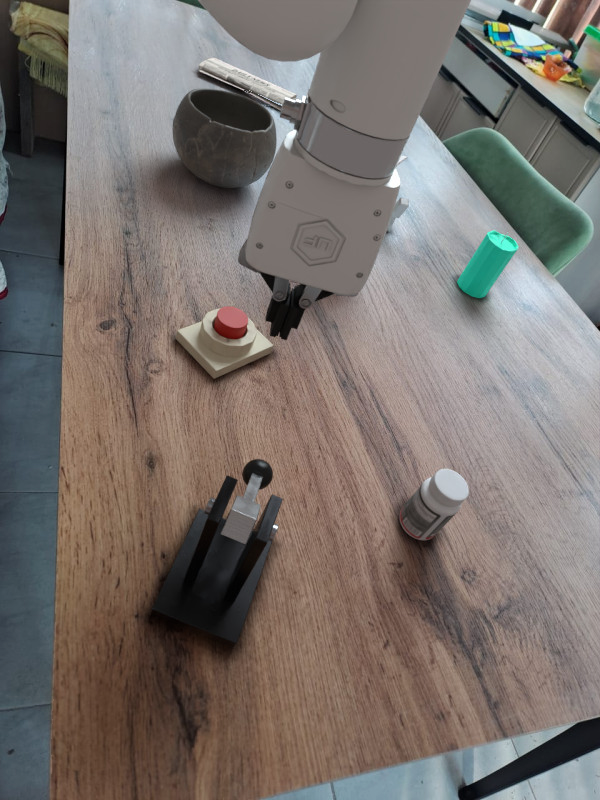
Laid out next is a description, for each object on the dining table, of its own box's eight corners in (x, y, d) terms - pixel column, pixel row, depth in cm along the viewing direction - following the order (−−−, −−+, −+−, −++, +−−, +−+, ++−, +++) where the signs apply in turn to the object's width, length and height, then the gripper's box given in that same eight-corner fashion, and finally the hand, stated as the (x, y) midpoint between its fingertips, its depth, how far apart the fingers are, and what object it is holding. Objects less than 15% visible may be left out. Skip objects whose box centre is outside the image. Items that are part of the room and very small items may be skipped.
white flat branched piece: (378, 218, 112) (395, 181, 107) (386, 220, 113) (403, 183, 107) (383, 238, 108) (401, 200, 102) (391, 240, 108) (410, 203, 103)
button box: (213, 379, 71) (219, 359, 68) (175, 338, 73) (179, 318, 71) (271, 353, 77) (278, 334, 74) (233, 316, 79) (239, 297, 77)
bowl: (198, 209, 95) (213, 135, 86) (148, 151, 102) (157, 77, 93) (282, 201, 105) (303, 135, 96) (232, 149, 112) (247, 83, 103)
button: (227, 343, 71) (230, 331, 69) (207, 323, 72) (210, 311, 71) (250, 333, 73) (254, 322, 72) (231, 314, 75) (234, 302, 73)
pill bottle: (431, 507, 68) (467, 468, 62) (439, 543, 65) (477, 506, 59) (395, 502, 67) (428, 461, 61) (401, 539, 63) (436, 500, 58)
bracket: (197, 514, 58) (223, 439, 49) (270, 544, 58) (309, 475, 49) (149, 614, 50) (171, 547, 41) (234, 648, 50) (273, 589, 41)
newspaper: (194, 74, 131) (196, 62, 129) (213, 67, 140) (215, 56, 139) (284, 114, 131) (287, 103, 130) (297, 105, 141) (300, 94, 139)
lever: (240, 475, 58) (251, 450, 57) (267, 487, 58) (278, 461, 57) (214, 535, 45) (227, 503, 44) (249, 549, 45) (263, 518, 45)
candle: (491, 292, 107) (528, 238, 98) (477, 302, 103) (515, 246, 94) (465, 273, 109) (500, 219, 100) (451, 282, 105) (486, 226, 96)
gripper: (241, 125, 36) (192, 334, 49) (453, 196, 39) (354, 375, 52) (252, 83, 41) (205, 283, 54) (439, 149, 44) (352, 323, 57)
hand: (278, 328), depth 53 cm, fingers closed
